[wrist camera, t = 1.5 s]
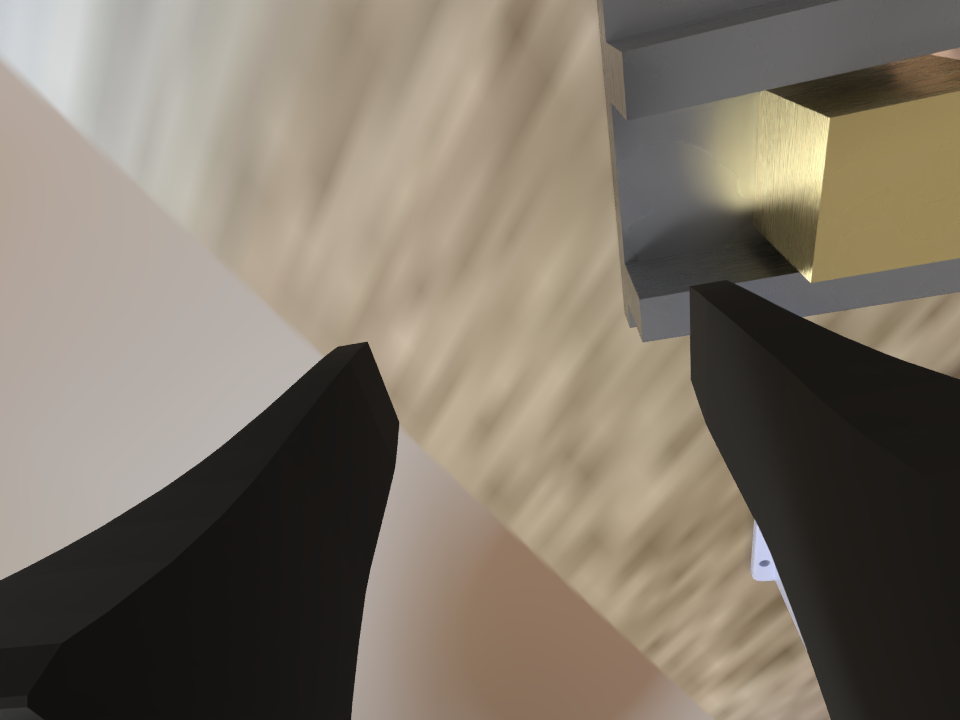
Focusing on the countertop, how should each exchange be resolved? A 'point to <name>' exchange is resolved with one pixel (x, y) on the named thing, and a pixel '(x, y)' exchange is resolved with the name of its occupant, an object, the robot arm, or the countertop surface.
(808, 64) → the rail
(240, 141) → the countertop surface
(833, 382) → the robot arm
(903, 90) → the brass block
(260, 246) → the countertop surface
